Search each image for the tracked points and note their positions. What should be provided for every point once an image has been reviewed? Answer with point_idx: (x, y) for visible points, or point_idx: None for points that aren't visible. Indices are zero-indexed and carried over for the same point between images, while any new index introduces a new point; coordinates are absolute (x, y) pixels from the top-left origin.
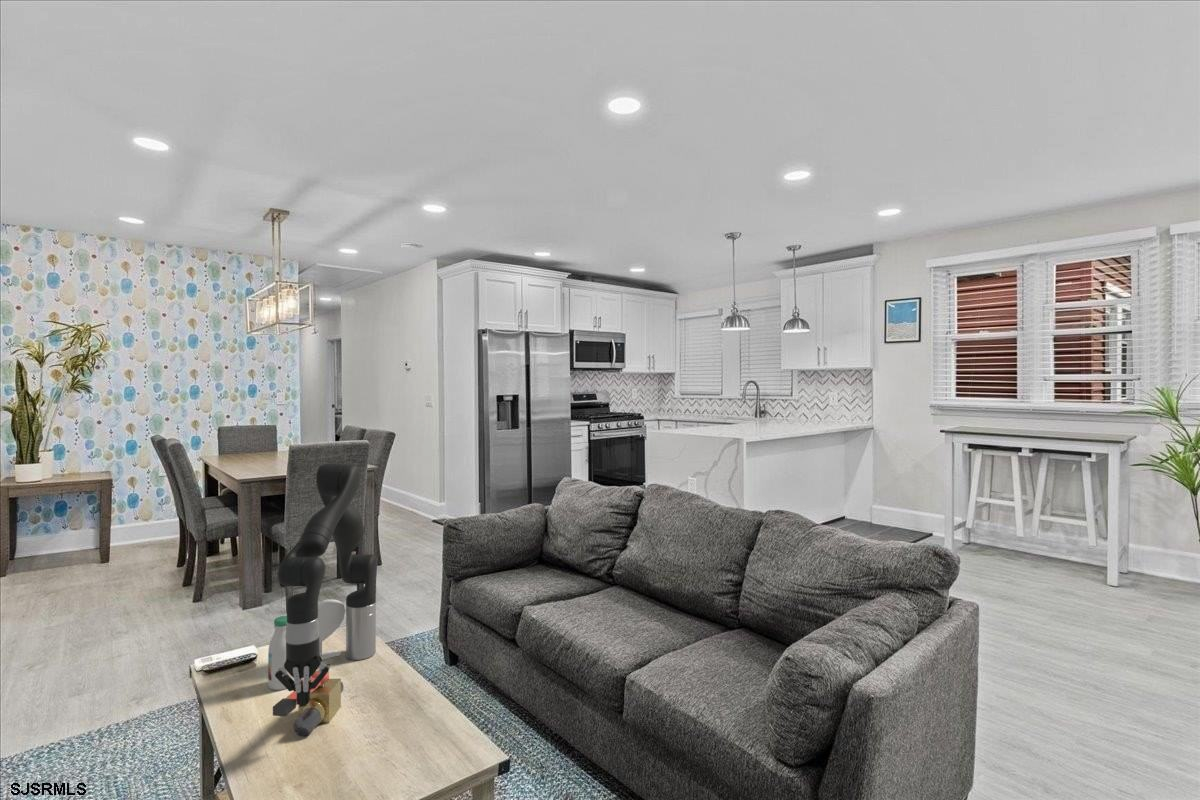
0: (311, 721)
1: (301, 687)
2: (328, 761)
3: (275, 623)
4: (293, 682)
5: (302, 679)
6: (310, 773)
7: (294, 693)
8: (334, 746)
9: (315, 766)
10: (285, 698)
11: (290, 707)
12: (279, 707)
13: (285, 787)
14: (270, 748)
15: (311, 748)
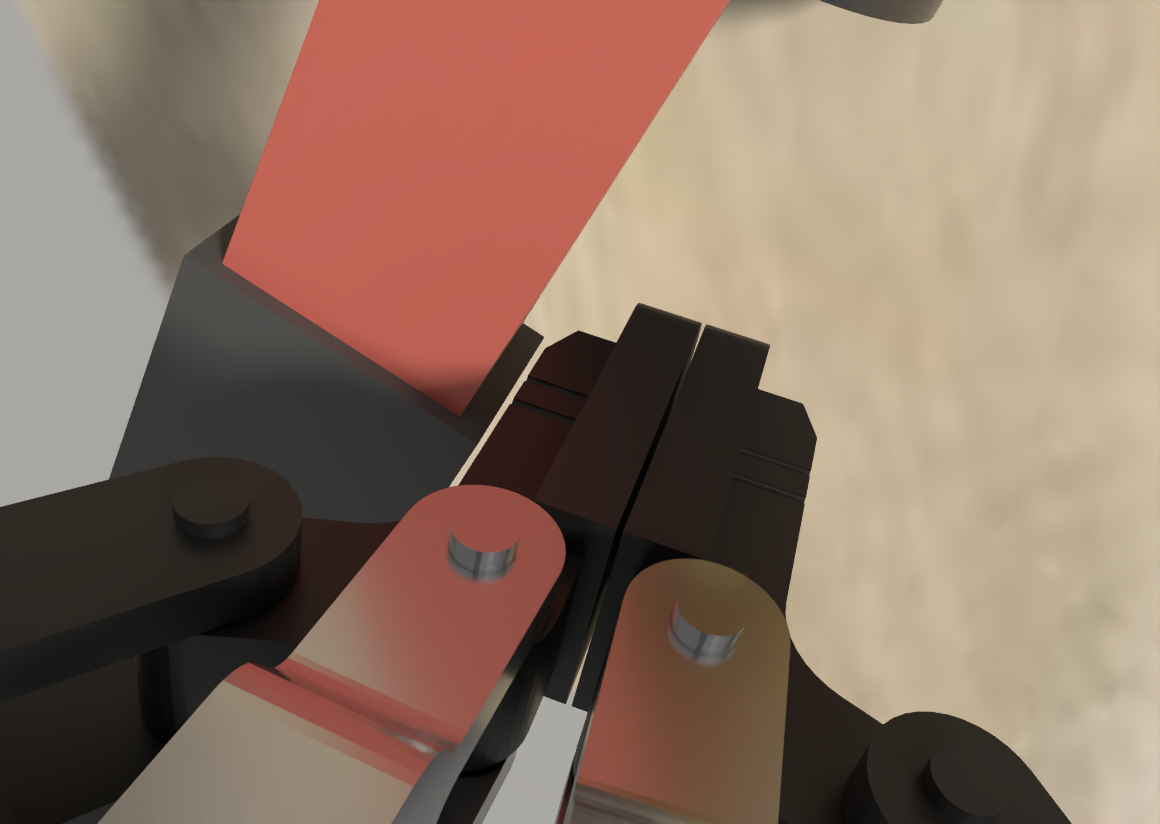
0: (899, 20)
1: (501, 753)
2: (992, 576)
3: None
4: (182, 623)
5: (439, 813)
6: (807, 642)
7: (403, 77)
8: (1132, 363)
9: (861, 581)
10: (242, 295)
11: None
12: None
13: None
14: None
15: (865, 271)
